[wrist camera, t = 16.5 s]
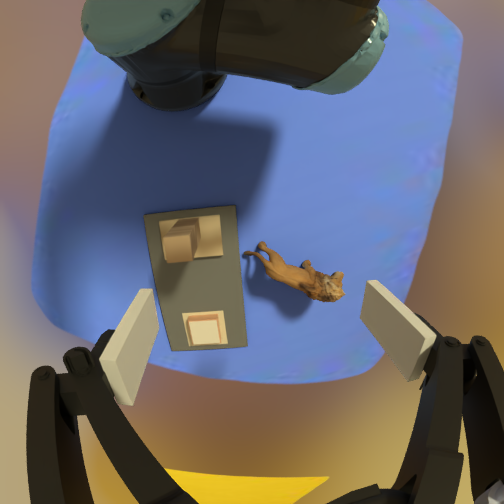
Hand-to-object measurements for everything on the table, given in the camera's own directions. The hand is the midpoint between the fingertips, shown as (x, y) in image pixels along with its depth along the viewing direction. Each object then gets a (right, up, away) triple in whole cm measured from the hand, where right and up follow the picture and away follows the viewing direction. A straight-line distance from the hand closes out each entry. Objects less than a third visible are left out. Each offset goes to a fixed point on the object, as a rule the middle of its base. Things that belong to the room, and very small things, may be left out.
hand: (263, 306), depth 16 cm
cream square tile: (-9, -10, +30) cm, 33 cm away
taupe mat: (-9, -2, +28) cm, 30 cm away
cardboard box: (-10, +5, +25) cm, 27 cm away
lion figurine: (+6, +2, +28) cm, 29 cm away
